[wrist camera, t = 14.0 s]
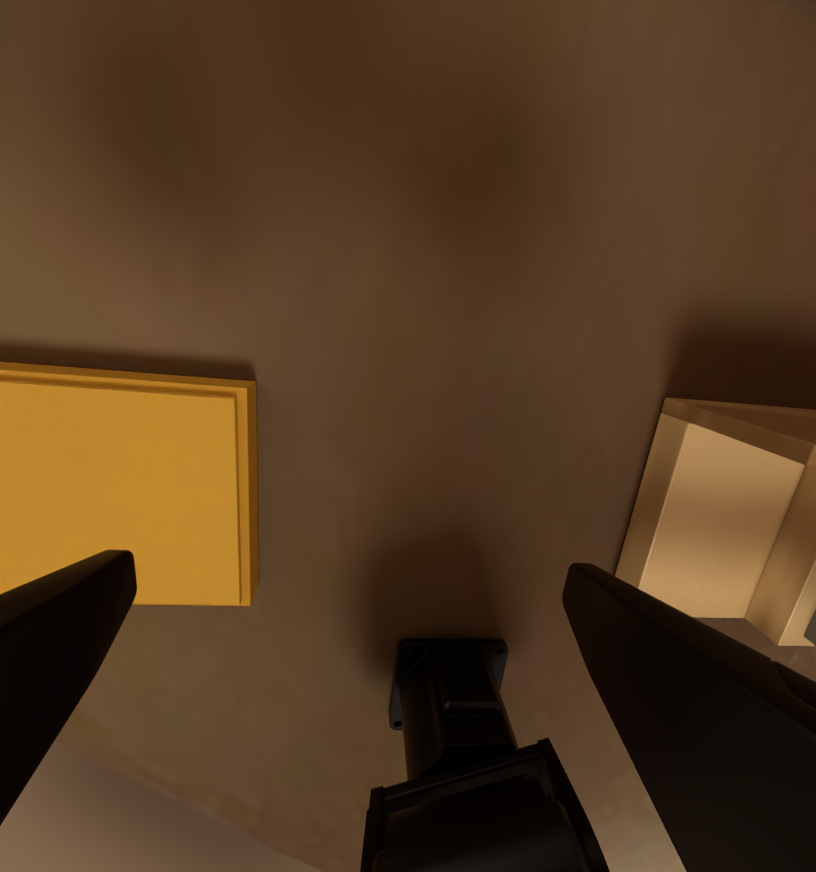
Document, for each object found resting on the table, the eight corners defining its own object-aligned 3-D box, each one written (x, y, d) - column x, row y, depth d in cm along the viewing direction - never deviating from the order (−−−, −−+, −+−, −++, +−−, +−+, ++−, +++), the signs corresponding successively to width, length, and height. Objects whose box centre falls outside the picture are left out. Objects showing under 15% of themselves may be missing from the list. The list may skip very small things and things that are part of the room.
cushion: (258, 585, 22) (248, 612, 20) (9, 580, 21) (-27, 608, 19) (256, 381, 19) (244, 389, 17) (-39, 358, 18) (-88, 365, 16)
